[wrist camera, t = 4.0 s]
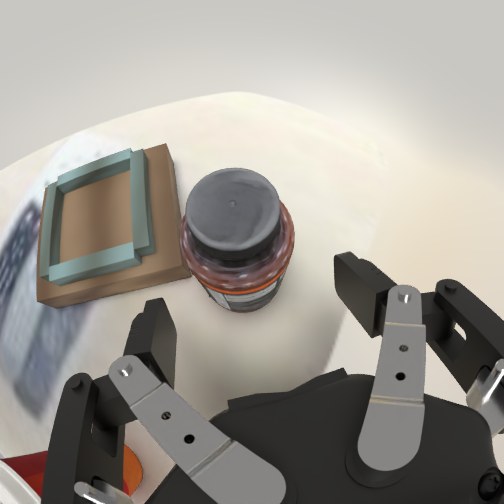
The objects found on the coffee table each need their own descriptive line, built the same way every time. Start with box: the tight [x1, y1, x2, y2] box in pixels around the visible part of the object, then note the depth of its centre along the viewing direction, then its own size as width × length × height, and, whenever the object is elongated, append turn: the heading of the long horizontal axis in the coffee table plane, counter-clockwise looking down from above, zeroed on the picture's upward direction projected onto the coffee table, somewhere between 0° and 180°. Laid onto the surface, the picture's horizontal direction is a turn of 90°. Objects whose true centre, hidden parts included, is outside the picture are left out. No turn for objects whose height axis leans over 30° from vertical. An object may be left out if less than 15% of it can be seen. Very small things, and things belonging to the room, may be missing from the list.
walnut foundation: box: [37, 143, 191, 308], centre depth 21 cm, size 14×12×4 cm
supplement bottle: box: [180, 168, 295, 312], centre depth 16 cm, size 6×6×11 cm
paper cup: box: [0, 445, 143, 504], centre depth 9 cm, size 8×8×14 cm
